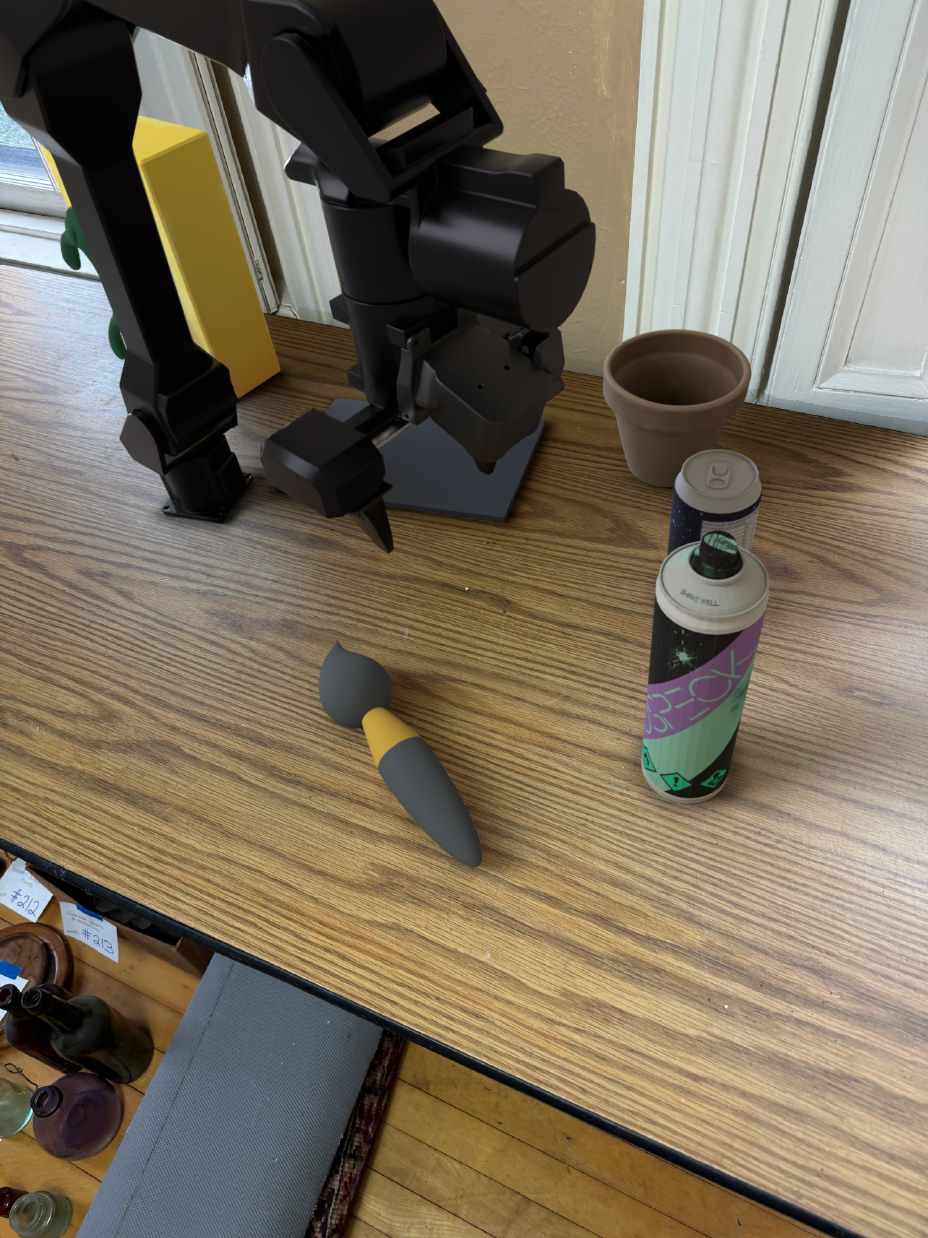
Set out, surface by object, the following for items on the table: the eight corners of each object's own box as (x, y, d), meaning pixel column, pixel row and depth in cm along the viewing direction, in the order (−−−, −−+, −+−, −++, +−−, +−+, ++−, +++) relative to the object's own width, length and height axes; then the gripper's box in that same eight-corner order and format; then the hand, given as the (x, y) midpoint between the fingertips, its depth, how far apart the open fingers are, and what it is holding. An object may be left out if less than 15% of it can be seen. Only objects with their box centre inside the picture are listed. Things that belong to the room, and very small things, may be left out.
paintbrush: (527, 837, 53) (522, 797, 49) (465, 887, 51) (455, 849, 48) (356, 656, 64) (342, 612, 61) (300, 692, 63) (282, 649, 59)
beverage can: (745, 576, 65) (770, 450, 56) (735, 631, 62) (760, 506, 53) (670, 565, 67) (683, 440, 58) (656, 617, 64) (667, 494, 55)
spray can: (632, 736, 57) (648, 511, 42) (714, 725, 57) (758, 496, 42) (651, 809, 53) (675, 591, 39) (739, 798, 53) (797, 574, 38)
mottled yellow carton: (97, 380, 95) (-17, 151, 77) (185, 328, 101) (97, 103, 83) (192, 430, 87) (88, 185, 69) (282, 371, 92) (208, 130, 74)
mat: (276, 491, 79) (274, 486, 78) (337, 402, 87) (335, 397, 87) (504, 523, 72) (504, 517, 72) (546, 424, 81) (546, 419, 80)
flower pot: (760, 453, 75) (779, 350, 67) (691, 527, 70) (704, 424, 62) (647, 411, 80) (653, 312, 73) (576, 477, 75) (574, 378, 68)
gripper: (366, 421, 35) (423, 659, 47) (637, 237, 43) (628, 479, 55) (212, 343, 41) (296, 572, 52) (475, 193, 49) (498, 421, 60)
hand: (437, 509), depth 55 cm, fingers open, 9 cm apart
